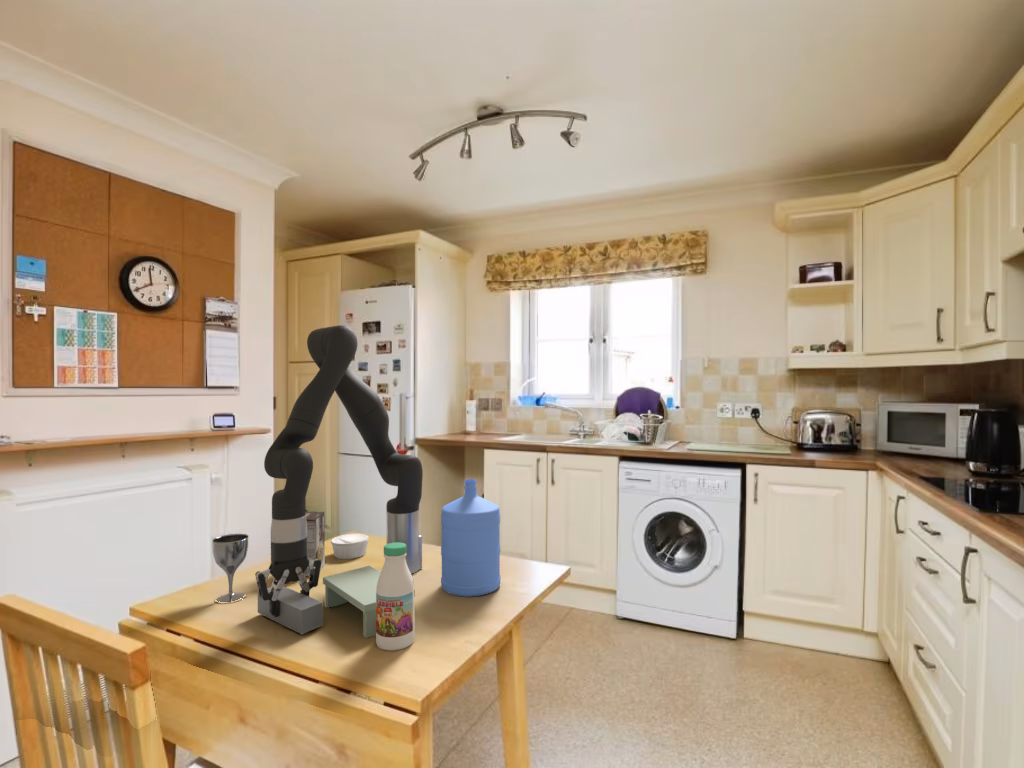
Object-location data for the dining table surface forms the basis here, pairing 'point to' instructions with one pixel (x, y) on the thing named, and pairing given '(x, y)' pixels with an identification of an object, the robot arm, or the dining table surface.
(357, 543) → the ramekin
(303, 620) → the grey rectangular brick
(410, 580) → the milk bottle
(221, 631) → the dining table surface
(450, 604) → the dining table surface
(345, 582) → the sage shelf
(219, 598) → the wine glass
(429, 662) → the dining table surface
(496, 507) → the water jug
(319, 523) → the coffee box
